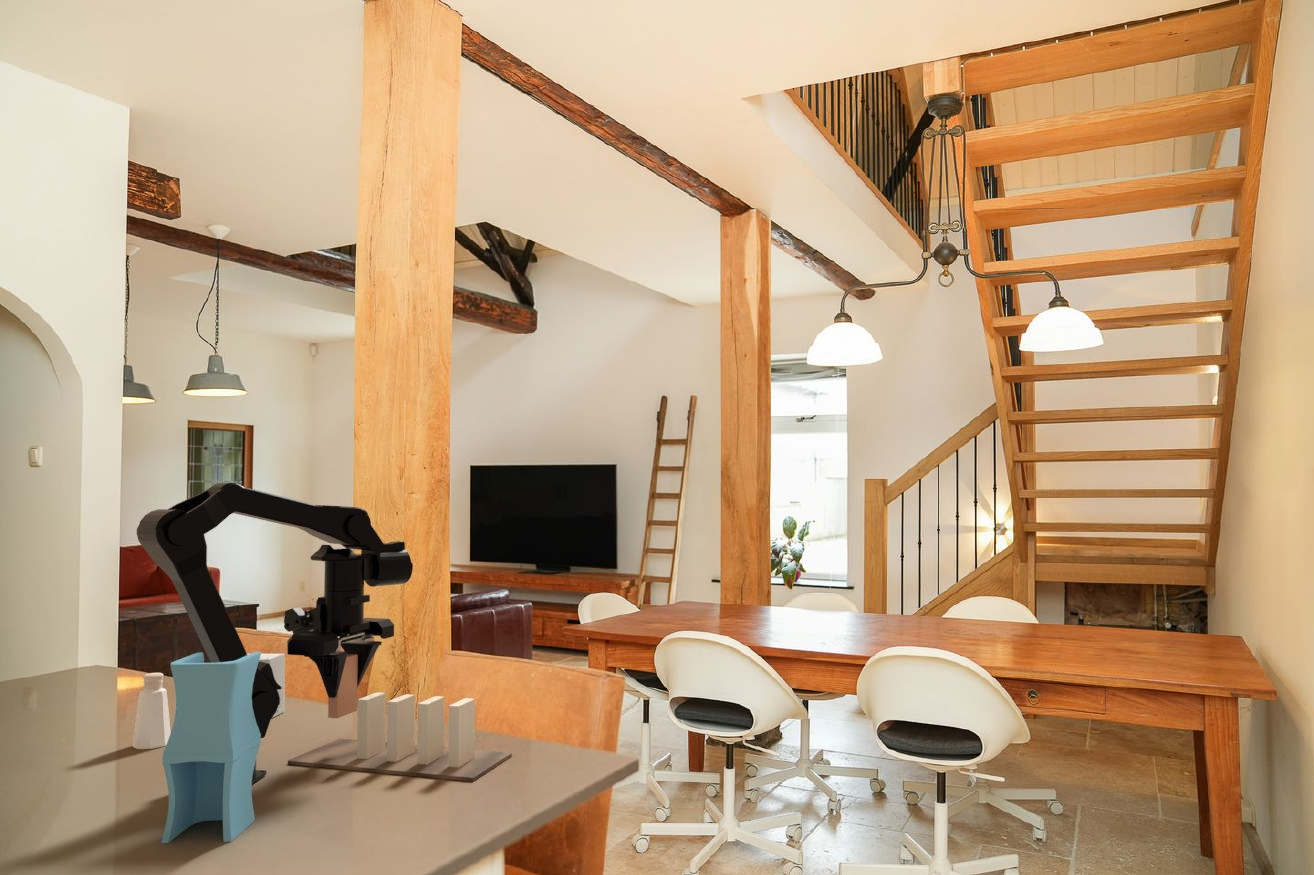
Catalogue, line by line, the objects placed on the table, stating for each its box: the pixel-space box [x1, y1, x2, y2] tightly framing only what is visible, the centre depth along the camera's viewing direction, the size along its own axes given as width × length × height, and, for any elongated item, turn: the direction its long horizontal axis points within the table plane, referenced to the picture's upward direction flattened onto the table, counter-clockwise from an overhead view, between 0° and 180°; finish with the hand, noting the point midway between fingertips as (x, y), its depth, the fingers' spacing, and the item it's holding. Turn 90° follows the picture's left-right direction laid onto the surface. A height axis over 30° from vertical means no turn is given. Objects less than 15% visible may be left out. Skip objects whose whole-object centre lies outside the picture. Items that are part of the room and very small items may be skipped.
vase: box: [160, 651, 262, 844], centre depth 107 cm, size 8×8×20 cm
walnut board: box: [287, 737, 513, 782], centre depth 133 cm, size 30×12×1 cm, turn 73°
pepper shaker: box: [131, 672, 172, 750], centre depth 142 cm, size 5×5×11 cm
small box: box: [247, 653, 286, 719], centre depth 160 cm, size 8×6×10 cm
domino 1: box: [356, 691, 387, 759], centre depth 135 cm, size 2×5×8 cm, turn 164°
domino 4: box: [448, 697, 476, 767], centre depth 130 cm, size 2×5×8 cm, turn 163°
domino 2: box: [386, 693, 416, 762], centre depth 133 cm, size 2×5×8 cm, turn 164°
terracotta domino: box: [327, 654, 358, 719], centre depth 136 cm, size 2×5×8 cm, turn 163°
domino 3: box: [417, 695, 446, 765], centre depth 132 cm, size 2×5×8 cm, turn 163°
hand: (342, 693), depth 136 cm, fingers closed on terracotta domino, 5 cm apart
